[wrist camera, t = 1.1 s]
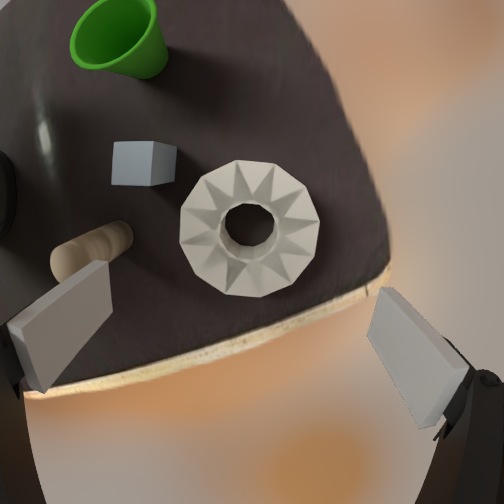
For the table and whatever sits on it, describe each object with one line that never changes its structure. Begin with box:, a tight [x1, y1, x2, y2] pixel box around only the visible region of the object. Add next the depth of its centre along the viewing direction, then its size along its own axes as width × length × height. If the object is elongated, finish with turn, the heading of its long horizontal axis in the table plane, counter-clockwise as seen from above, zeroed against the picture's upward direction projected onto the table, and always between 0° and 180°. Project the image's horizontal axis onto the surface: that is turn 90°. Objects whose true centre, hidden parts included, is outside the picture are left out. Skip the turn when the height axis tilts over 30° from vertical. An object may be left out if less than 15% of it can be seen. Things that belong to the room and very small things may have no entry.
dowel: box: [50, 220, 134, 283], centre depth 28 cm, size 4×4×12 cm
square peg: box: [111, 141, 177, 186], centre depth 27 cm, size 4×4×8 cm
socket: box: [180, 160, 320, 297], centre depth 30 cm, size 14×14×5 cm
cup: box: [70, 0, 168, 79], centre depth 22 cm, size 9×9×11 cm
